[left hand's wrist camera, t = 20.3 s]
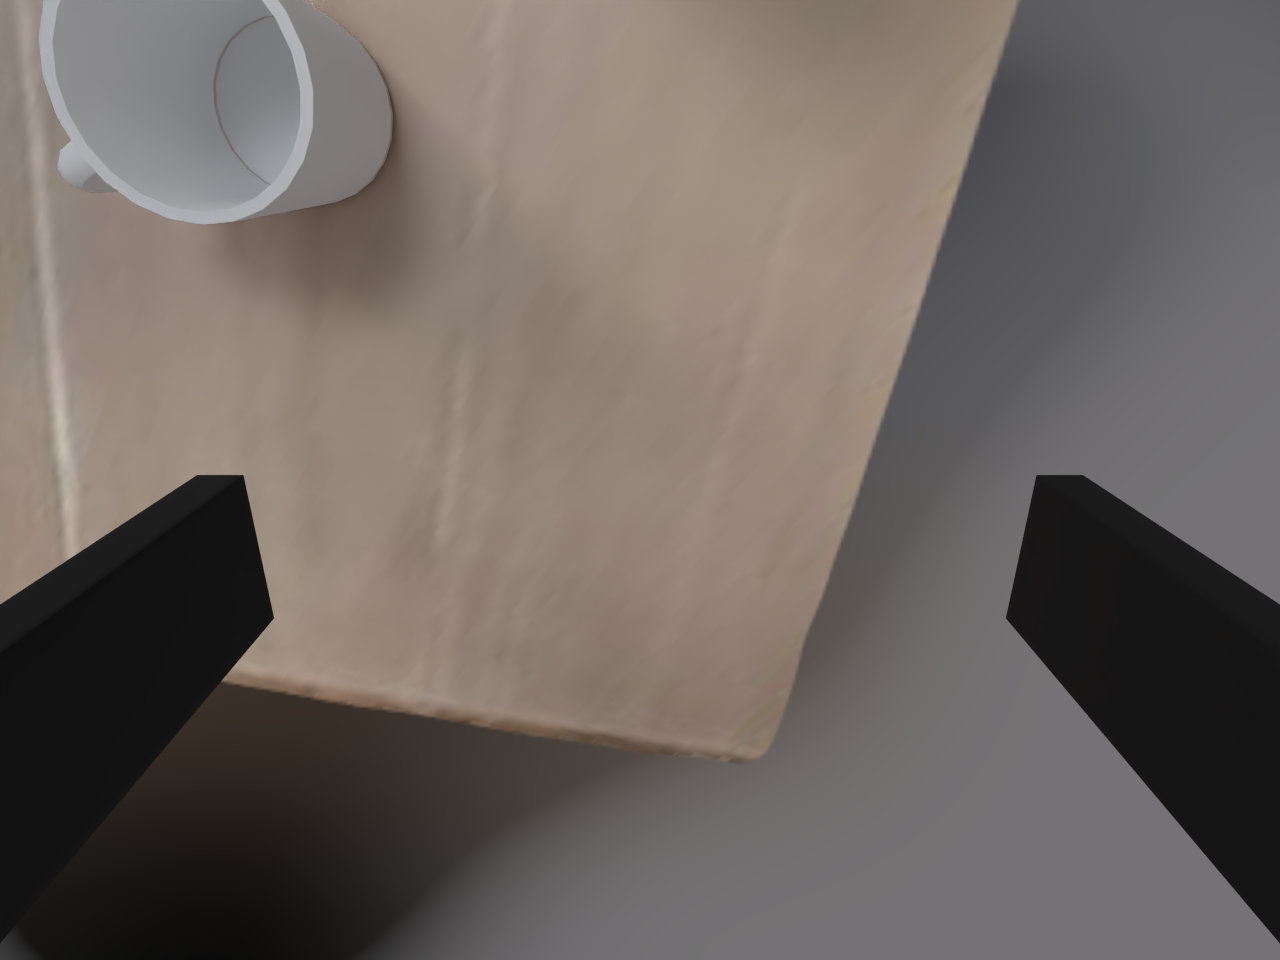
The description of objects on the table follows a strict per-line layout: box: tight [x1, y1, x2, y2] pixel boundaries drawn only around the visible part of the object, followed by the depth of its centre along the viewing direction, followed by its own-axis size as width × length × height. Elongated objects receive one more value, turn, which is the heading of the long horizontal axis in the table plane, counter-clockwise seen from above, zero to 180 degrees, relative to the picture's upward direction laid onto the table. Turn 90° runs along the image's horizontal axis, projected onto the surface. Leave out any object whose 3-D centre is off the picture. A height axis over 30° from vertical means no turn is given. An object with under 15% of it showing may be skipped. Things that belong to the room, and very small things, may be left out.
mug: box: [39, 0, 393, 225], centre depth 30 cm, size 11×9×10 cm
